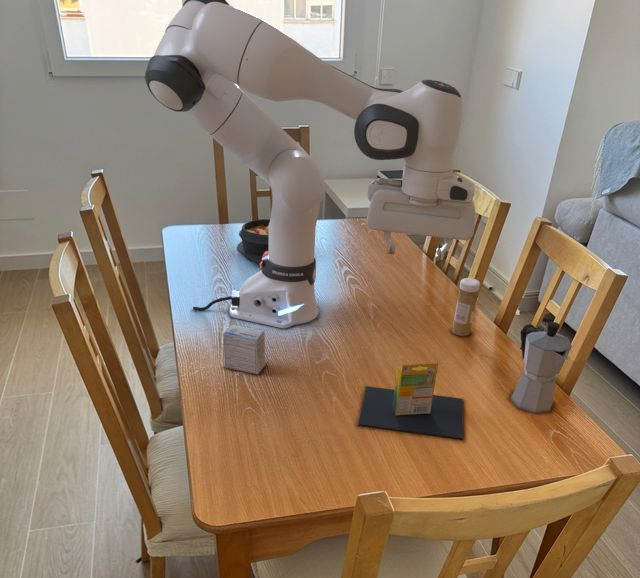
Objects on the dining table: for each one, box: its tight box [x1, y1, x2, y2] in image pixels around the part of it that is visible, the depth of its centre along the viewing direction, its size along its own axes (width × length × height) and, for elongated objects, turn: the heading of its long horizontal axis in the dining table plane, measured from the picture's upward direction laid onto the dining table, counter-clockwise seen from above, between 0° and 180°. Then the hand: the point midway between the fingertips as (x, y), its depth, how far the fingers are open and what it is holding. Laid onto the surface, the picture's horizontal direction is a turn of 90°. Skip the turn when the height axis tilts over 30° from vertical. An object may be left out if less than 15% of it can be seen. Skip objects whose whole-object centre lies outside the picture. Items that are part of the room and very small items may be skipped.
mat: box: [357, 386, 464, 441], centre depth 127 cm, size 20×14×1 cm
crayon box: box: [392, 362, 439, 416], centre depth 123 cm, size 7×3×12 cm, turn 100°
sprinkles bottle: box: [451, 277, 481, 337], centre depth 152 cm, size 5×5×14 cm
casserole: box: [236, 218, 270, 264], centre depth 190 cm, size 25×19×8 cm
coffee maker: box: [509, 321, 573, 414], centre depth 127 cm, size 15×9×18 cm, turn 17°
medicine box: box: [222, 324, 266, 375], centre depth 135 cm, size 8×4×9 cm, turn 71°
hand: (414, 256), depth 123 cm, fingers open, 8 cm apart
